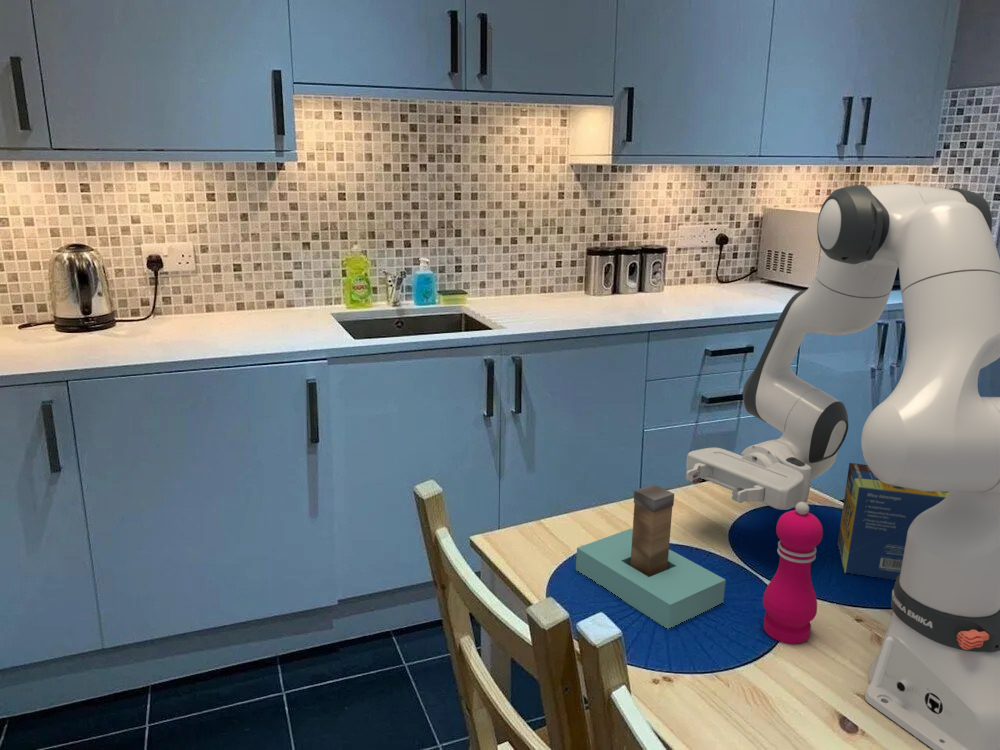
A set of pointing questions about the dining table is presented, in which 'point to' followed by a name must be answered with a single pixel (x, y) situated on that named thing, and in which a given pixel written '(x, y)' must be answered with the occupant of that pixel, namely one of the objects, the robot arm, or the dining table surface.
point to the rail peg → (651, 529)
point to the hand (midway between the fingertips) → (711, 486)
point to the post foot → (651, 581)
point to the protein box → (878, 522)
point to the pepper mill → (793, 577)
